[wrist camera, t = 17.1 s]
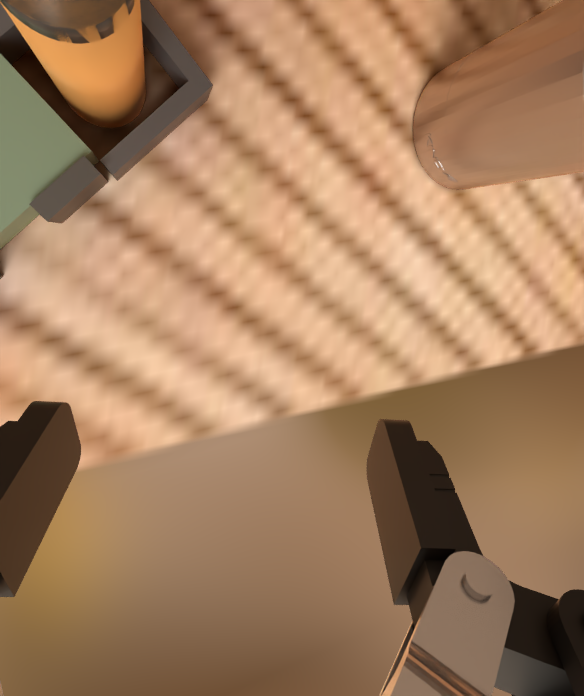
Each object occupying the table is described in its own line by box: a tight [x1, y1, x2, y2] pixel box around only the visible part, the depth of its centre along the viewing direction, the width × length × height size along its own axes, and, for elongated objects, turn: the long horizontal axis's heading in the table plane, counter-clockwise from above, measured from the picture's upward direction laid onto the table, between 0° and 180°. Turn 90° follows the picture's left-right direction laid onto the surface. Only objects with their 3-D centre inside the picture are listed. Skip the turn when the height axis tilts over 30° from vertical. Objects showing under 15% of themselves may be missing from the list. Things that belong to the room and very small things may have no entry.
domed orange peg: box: [0, 0, 146, 128], centre depth 20 cm, size 5×5×14 cm
